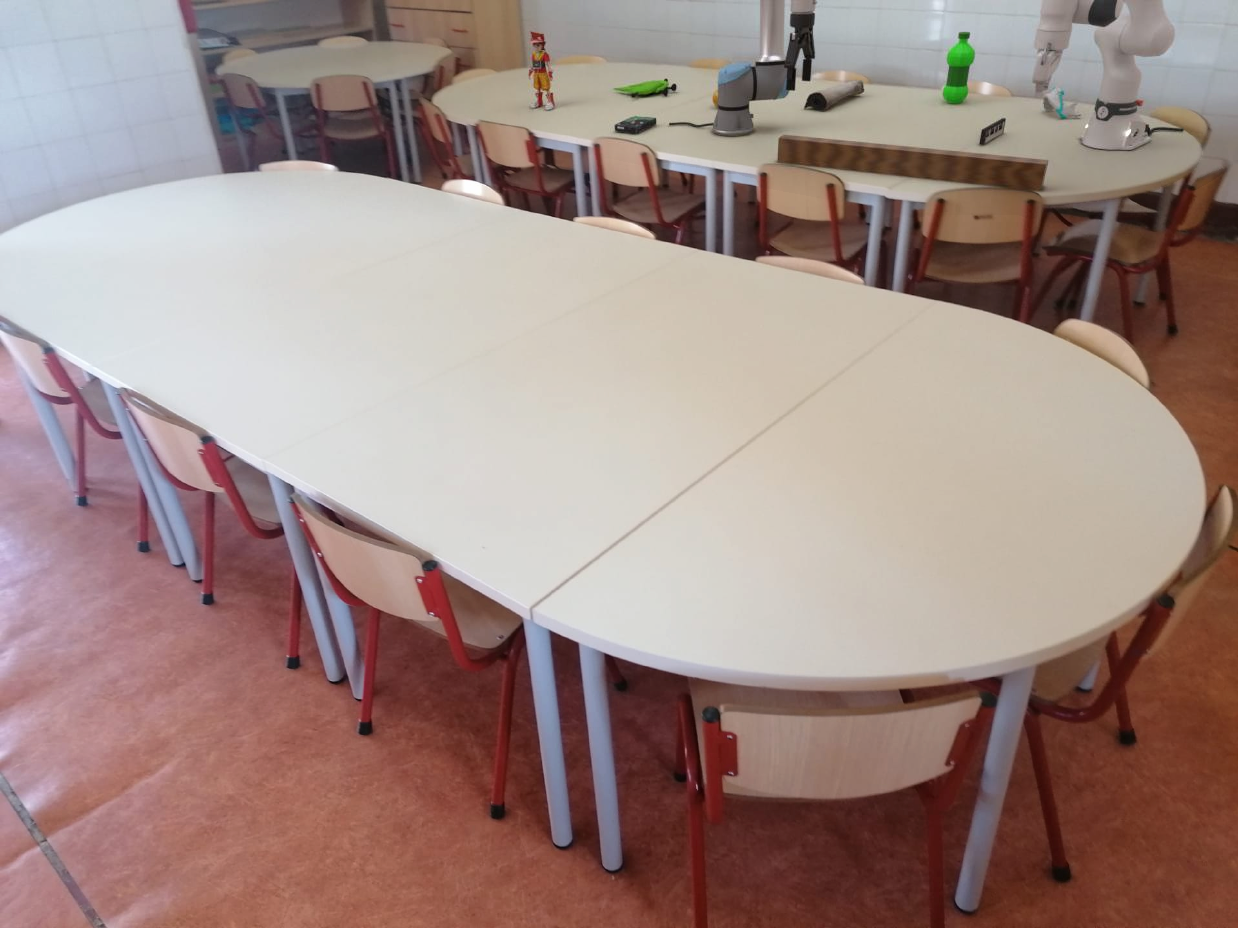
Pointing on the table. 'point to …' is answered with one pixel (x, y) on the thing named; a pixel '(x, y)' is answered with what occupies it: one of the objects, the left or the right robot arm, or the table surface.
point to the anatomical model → (1059, 104)
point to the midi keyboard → (992, 131)
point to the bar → (914, 162)
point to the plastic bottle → (958, 69)
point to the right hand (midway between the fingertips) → (1041, 93)
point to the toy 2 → (648, 88)
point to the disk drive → (635, 124)
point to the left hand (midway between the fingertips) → (798, 85)
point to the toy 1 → (541, 71)
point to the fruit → (715, 98)
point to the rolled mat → (833, 94)
